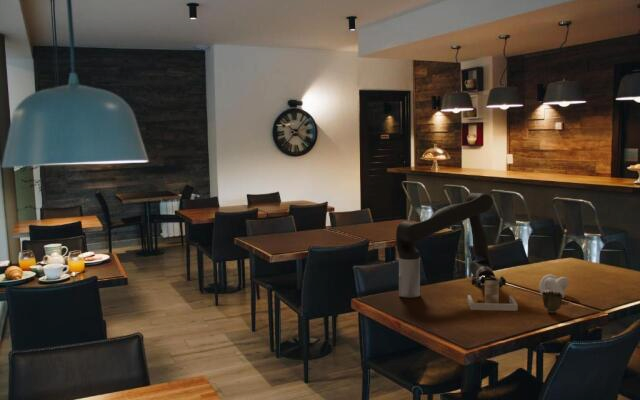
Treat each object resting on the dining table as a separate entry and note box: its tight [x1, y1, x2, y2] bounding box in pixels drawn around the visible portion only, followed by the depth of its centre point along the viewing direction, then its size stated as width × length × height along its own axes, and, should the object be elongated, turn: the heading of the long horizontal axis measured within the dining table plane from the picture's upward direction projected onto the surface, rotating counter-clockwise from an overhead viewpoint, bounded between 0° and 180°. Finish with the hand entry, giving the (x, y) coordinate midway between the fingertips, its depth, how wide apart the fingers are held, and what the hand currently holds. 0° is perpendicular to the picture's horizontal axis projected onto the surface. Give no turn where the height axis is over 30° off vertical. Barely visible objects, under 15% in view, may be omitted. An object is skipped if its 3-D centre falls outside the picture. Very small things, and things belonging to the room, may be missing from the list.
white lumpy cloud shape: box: [538, 273, 569, 299], centre depth 252 cm, size 11×12×9 cm
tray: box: [467, 294, 519, 312], centre depth 240 cm, size 18×13×2 cm
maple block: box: [484, 280, 500, 304], centre depth 241 cm, size 5×5×10 cm
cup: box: [541, 291, 563, 315], centre depth 228 cm, size 8×7×8 cm
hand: (490, 285), depth 244 cm, fingers open, 8 cm apart
